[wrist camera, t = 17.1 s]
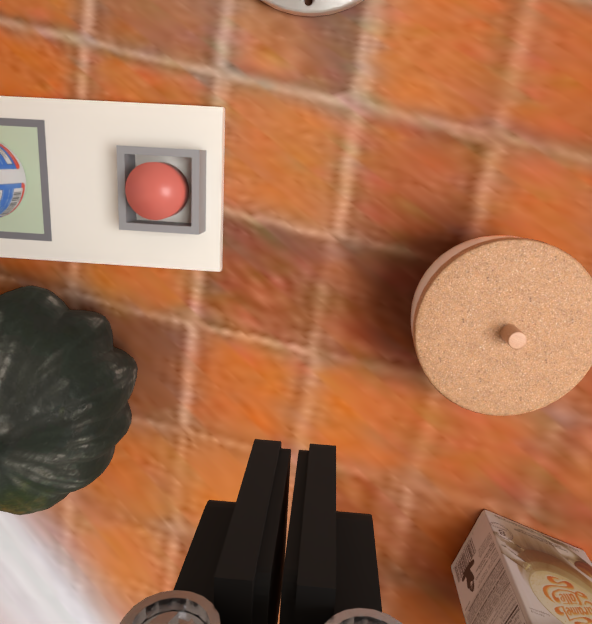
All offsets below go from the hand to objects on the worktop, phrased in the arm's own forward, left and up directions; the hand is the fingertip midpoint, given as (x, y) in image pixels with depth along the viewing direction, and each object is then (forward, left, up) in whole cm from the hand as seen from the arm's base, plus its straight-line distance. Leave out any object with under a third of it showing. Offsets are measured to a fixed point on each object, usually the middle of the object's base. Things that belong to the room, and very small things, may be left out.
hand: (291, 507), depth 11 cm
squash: (+9, -20, -29) cm, 37 cm away
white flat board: (-5, -18, -29) cm, 34 cm away
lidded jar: (+2, +11, -29) cm, 31 cm away
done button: (-4, -11, -27) cm, 30 cm away
